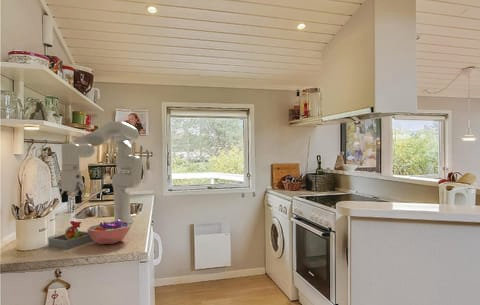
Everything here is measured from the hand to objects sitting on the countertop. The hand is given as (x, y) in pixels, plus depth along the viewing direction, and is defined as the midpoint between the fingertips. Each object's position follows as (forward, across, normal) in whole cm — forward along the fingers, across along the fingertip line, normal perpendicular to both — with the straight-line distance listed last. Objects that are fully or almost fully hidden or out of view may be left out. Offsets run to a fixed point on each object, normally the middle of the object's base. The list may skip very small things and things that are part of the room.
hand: (71, 202), depth 147 cm
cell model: (+20, -18, -7) cm, 28 cm away
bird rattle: (+20, 0, 0) cm, 20 cm away
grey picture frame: (+20, 0, 0) cm, 20 cm away
